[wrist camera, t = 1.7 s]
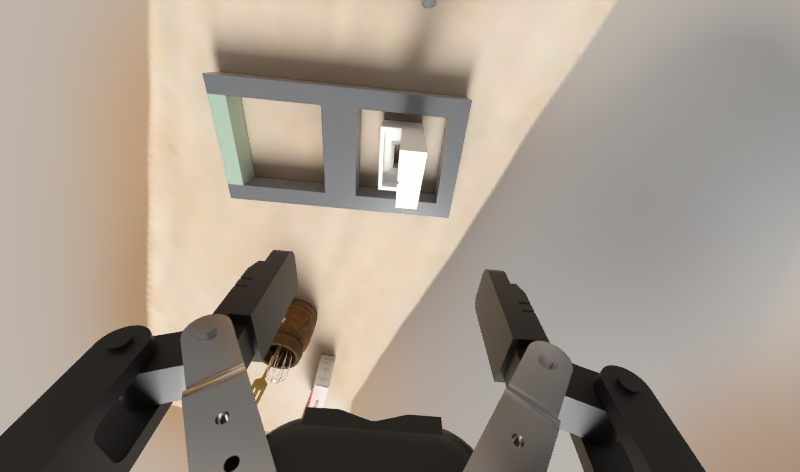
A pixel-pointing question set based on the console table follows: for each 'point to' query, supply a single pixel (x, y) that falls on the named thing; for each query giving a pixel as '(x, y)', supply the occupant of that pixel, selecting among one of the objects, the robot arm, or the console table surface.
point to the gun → (428, 3)
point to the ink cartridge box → (321, 382)
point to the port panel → (332, 141)
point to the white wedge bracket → (402, 161)
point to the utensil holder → (288, 342)
